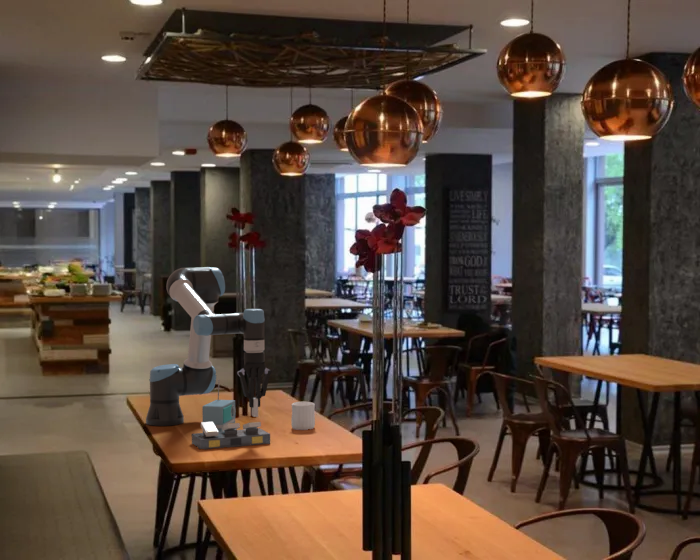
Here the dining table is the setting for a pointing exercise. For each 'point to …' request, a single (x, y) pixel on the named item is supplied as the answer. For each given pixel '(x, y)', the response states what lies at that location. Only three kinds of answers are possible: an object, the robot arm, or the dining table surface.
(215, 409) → the radio
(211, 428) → the rocker
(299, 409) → the cup
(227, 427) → the rocker
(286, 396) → the dining table surface
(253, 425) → the rocker
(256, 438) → the console
